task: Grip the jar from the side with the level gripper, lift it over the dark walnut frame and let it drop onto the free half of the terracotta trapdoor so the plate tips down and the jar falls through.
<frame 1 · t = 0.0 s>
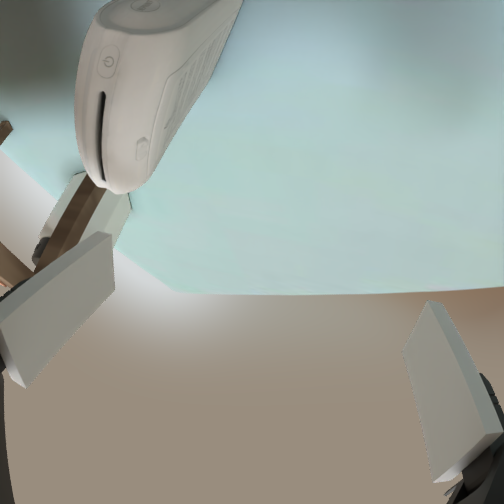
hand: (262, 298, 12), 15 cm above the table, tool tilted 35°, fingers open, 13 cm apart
trapdoor frame: (27, 48, 18), on the table
jar: (103, 190, 36), on the table
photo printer: (201, 26, 17), on the table
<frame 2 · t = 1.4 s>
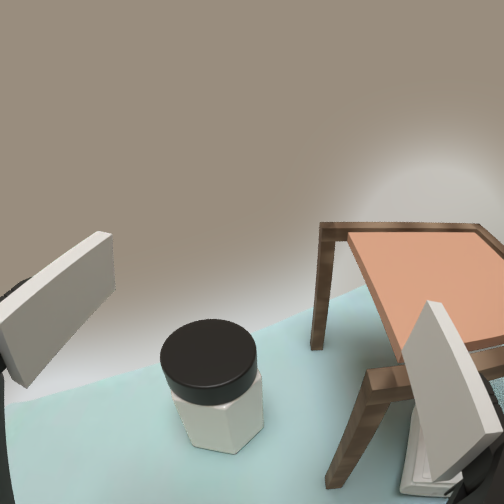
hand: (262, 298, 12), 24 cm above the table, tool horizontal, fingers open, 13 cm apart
trapdoor frame: (403, 396, 32), on the table
trapdoor: (451, 278, 23), point 17 cm above the table, hinge at 0.0°
jar: (223, 422, 31), on the table
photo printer: (447, 494, 18), point 2 cm above the table
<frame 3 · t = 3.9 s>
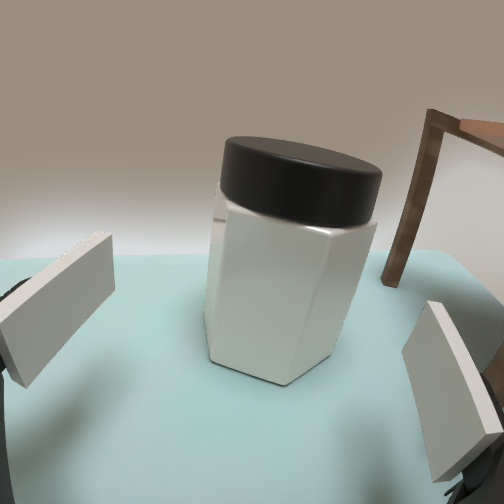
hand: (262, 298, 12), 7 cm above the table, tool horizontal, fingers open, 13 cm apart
trapdoor frame: (497, 354, 21), on the table
jar: (265, 338, 21), on the table
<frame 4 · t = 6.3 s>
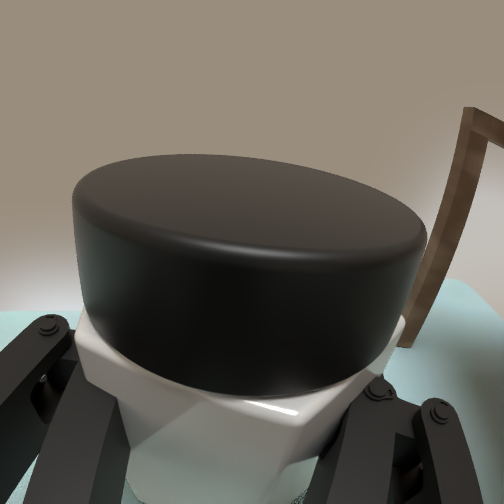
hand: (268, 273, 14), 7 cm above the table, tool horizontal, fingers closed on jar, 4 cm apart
jar: (220, 457, 12), on the table, touching gripper
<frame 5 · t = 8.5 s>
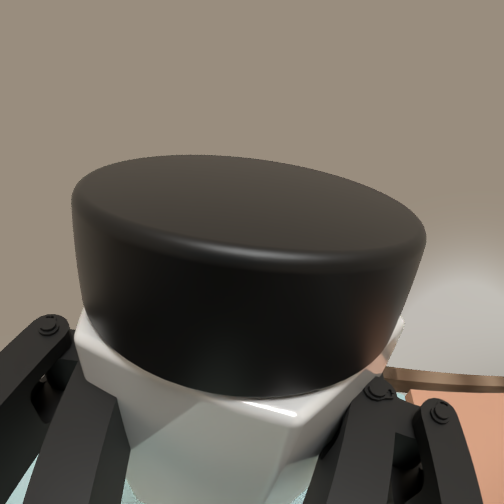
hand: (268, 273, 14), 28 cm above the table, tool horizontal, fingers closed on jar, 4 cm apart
trapdoor: (499, 463, 14), point 17 cm above the table, hinge at 0.0°
jar: (220, 457, 12), point 21 cm above the table, touching gripper
when the fingers open (27 cm above the table, at t = 10.9 s): jar drops 1 cm, point 19 cm above the table.
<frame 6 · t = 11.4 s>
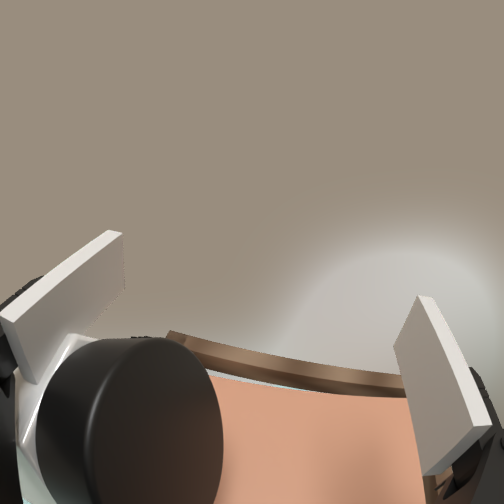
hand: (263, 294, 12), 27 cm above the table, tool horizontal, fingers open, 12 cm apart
trapdoor: (292, 495, 13), point 16 cm above the table, hinge at -4.0°
jar: (7, 404, 12), point 19 cm above the table
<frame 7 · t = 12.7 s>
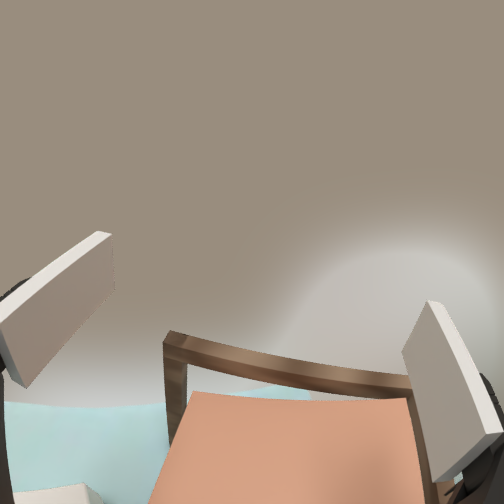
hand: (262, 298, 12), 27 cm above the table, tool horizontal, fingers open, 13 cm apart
trapdoor: (289, 500, 14), point 15 cm above the table, hinge at -12.0°
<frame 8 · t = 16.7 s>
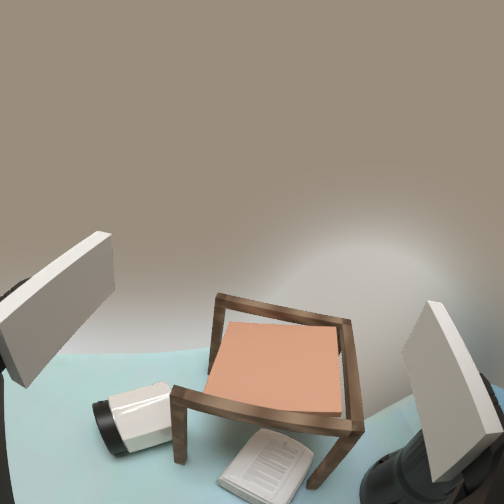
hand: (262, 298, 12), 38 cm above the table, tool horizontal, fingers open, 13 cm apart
trapdoor frame: (256, 426, 46), on the table
trapdoor: (276, 364, 39), point 15 cm above the table, hinge at -11.0°
jar: (177, 407, 42), point 4 cm above the table
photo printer: (247, 499, 32), point 2 cm above the table
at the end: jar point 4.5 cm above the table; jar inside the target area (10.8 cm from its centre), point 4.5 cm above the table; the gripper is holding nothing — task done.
